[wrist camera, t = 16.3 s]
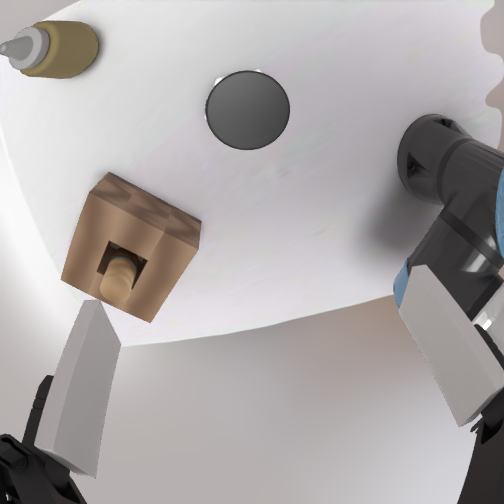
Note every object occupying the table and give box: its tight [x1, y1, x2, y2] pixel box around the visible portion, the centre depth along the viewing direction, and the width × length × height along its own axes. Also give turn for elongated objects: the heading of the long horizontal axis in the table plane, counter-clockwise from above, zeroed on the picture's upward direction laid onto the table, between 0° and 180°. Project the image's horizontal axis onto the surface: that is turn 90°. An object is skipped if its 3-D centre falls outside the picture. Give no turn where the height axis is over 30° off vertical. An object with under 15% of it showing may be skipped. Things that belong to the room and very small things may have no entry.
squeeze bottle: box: [0, 21, 99, 79], centre depth 22 cm, size 8×8×18 cm
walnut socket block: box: [61, 172, 201, 323], centre depth 42 cm, size 16×16×8 cm
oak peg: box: [100, 246, 139, 303], centre depth 40 cm, size 4×4×12 cm
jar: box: [204, 69, 290, 150], centre depth 32 cm, size 9×8×12 cm
